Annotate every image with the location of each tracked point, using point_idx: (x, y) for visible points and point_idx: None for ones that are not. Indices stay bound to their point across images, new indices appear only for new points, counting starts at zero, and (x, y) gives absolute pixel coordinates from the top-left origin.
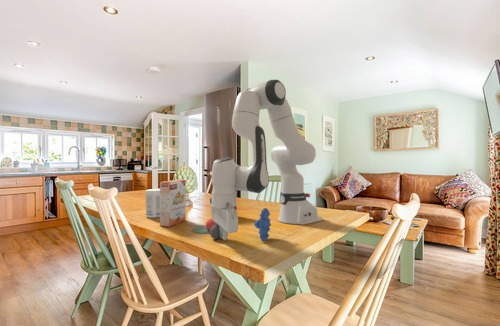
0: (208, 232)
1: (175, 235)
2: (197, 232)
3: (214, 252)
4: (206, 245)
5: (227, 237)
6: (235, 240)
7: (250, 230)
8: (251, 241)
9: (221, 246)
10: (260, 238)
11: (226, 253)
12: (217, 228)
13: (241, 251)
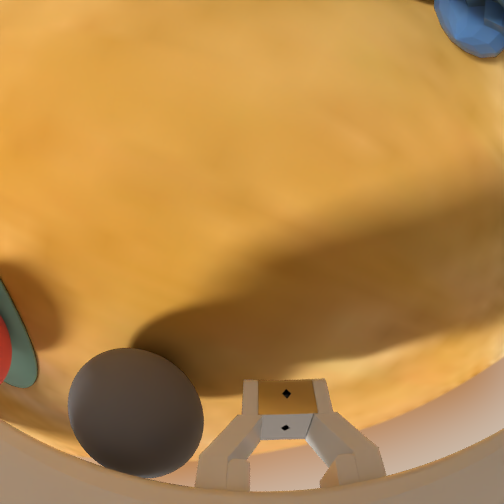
0: (24, 352)
1: (72, 445)
2: (27, 386)
3: (393, 417)
4: None
5: (326, 388)
6: (267, 252)
7: (35, 6)
8: (389, 108)
9: (342, 387)
10: (466, 50)
11: (447, 376)
12: (176, 466)
13: (490, 301)
